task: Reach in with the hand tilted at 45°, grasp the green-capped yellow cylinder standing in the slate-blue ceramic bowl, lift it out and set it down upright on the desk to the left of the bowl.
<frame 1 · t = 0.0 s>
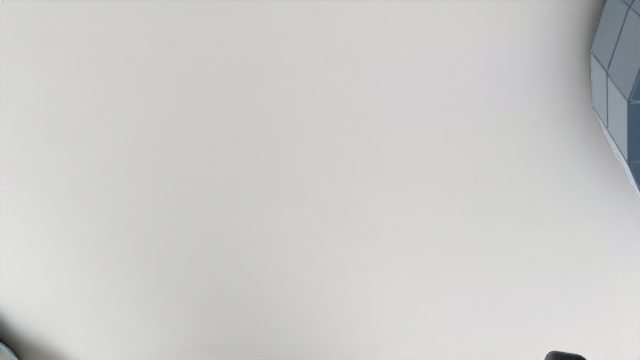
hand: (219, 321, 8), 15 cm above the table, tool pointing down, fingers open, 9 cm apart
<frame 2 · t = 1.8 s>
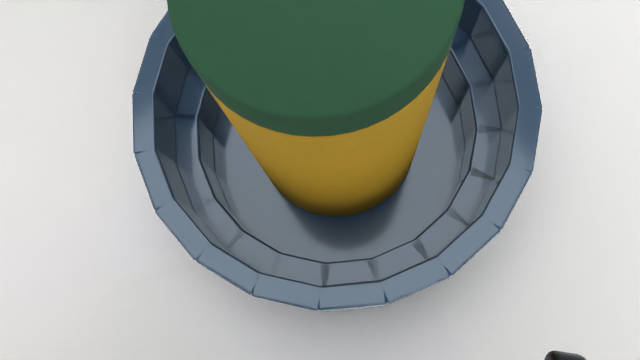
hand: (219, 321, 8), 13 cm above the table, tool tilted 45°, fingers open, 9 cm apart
bowl: (337, 146, 23), on the table
green-capped yellow cylinder: (336, 140, 22), point 1 cm above the table, touching bowl
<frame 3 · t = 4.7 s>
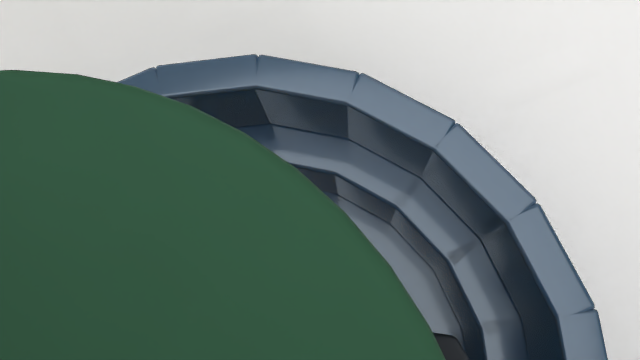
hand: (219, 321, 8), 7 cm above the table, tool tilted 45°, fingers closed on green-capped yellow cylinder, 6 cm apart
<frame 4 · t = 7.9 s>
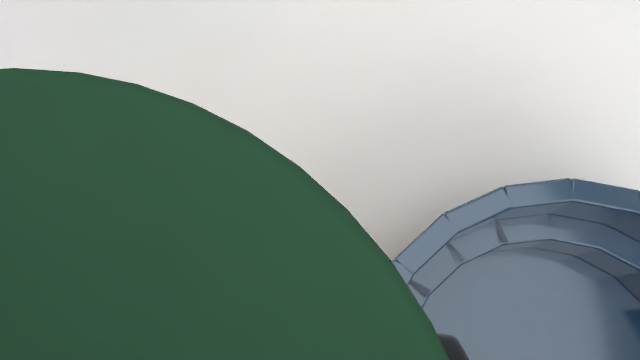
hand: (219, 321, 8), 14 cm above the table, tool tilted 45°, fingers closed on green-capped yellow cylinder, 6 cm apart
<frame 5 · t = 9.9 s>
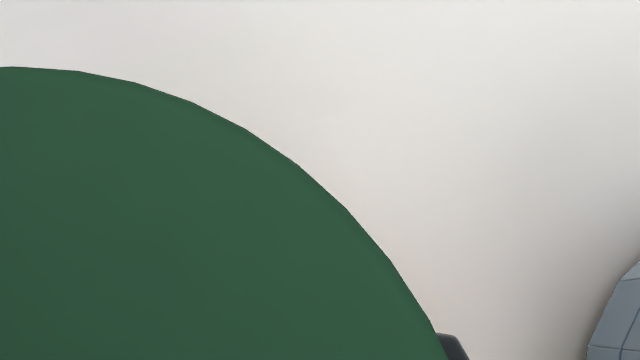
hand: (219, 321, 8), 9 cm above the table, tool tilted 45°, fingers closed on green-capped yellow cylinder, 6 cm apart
when the fingers open (6 cm above the table, at t = 11.4 s): green-capped yellow cylinder stays where it is, on the table.
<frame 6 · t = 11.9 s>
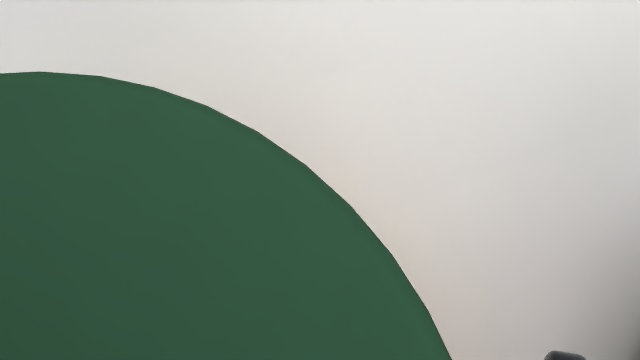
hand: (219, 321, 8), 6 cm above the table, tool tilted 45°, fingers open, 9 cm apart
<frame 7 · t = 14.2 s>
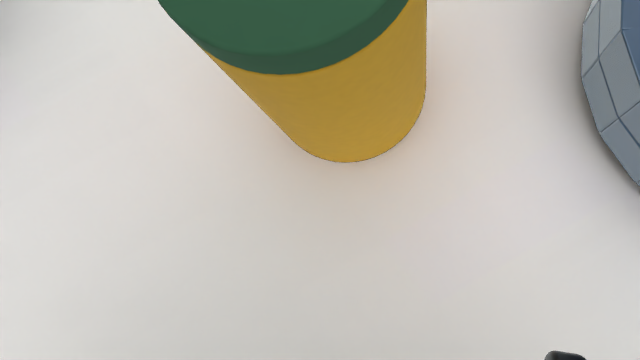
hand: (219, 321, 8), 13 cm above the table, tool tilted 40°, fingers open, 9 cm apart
green-capped yellow cylinder: (347, 87, 22), on the table
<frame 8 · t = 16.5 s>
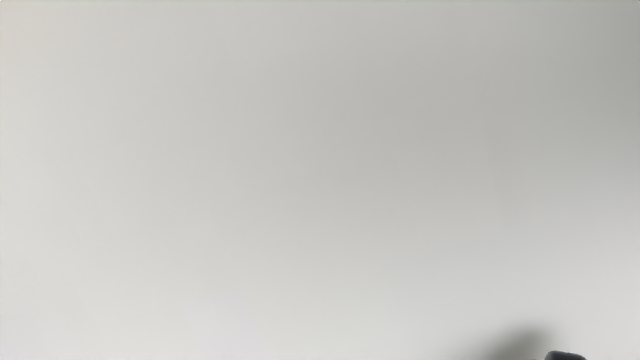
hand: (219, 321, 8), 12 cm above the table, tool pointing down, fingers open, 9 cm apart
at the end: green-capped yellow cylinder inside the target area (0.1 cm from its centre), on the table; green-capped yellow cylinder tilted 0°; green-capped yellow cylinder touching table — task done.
